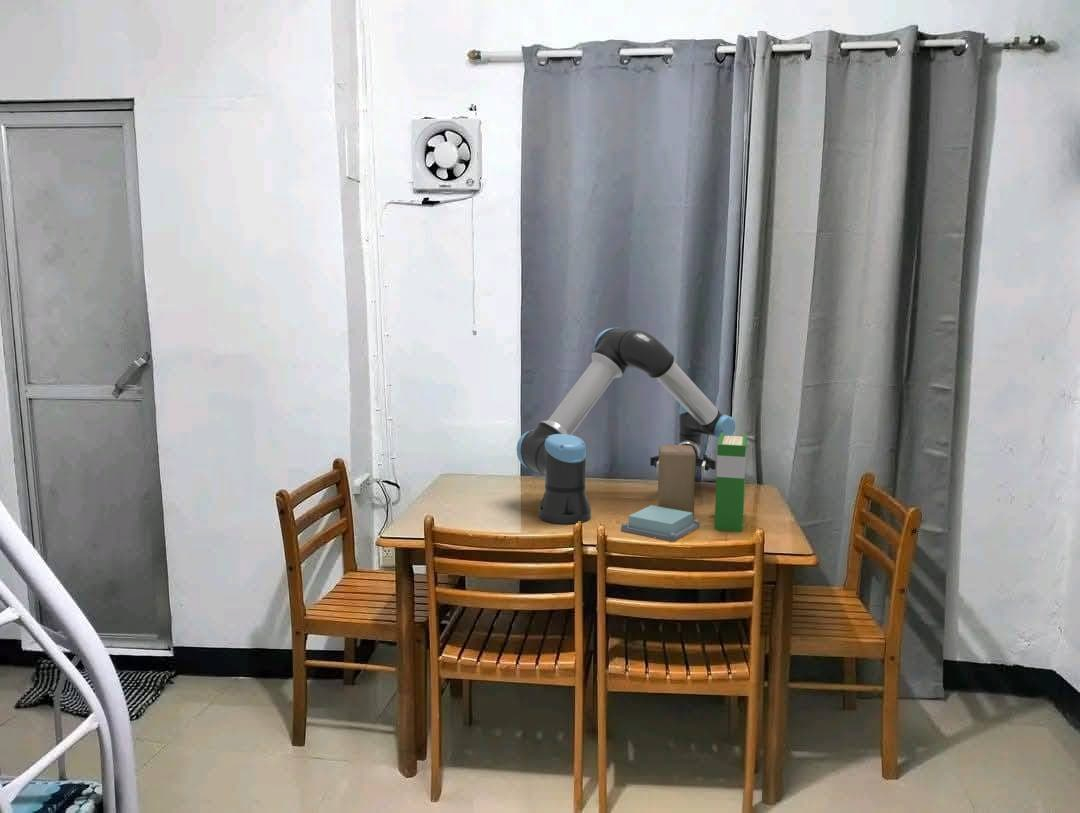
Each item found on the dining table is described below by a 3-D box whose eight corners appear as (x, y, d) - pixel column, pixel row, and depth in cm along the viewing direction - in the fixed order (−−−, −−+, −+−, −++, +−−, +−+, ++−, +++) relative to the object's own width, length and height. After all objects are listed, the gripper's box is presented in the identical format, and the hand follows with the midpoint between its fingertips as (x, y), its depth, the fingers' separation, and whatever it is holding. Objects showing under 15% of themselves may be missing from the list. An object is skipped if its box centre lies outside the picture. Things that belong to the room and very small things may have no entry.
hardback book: (717, 511, 238) (720, 432, 234) (743, 513, 236) (746, 434, 232) (714, 529, 221) (717, 444, 217) (742, 531, 219) (745, 446, 215)
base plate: (621, 530, 219) (621, 516, 219) (648, 517, 232) (649, 503, 231) (673, 542, 210) (674, 526, 209) (699, 527, 223) (700, 512, 222)
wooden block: (690, 510, 239) (693, 444, 236) (694, 520, 229) (696, 452, 226) (657, 509, 240) (658, 444, 237) (658, 519, 230) (660, 451, 227)
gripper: (725, 467, 260) (721, 483, 240) (648, 463, 266) (638, 478, 246) (726, 445, 258) (722, 459, 238) (649, 441, 265) (639, 454, 245)
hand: (679, 469), depth 242 cm, fingers open, 13 cm apart
